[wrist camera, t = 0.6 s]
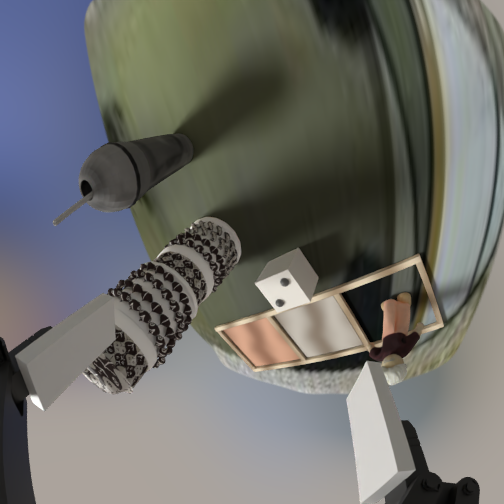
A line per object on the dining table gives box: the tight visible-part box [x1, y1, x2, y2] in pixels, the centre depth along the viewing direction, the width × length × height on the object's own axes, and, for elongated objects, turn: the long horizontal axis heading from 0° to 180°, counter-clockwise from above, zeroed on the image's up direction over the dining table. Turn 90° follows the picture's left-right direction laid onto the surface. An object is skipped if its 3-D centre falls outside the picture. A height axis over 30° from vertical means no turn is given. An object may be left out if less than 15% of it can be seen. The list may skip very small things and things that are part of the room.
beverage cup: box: [53, 133, 193, 226], centre depth 26 cm, size 7×7×20 cm
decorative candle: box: [82, 217, 242, 395], centre depth 30 cm, size 9×9×25 cm
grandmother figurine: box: [367, 292, 424, 385], centre depth 29 cm, size 8×4×13 cm, turn 145°
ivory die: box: [255, 248, 319, 313], centre depth 35 cm, size 5×5×6 cm
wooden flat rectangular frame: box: [214, 254, 444, 372], centre depth 41 cm, size 36×13×1 cm, turn 129°
